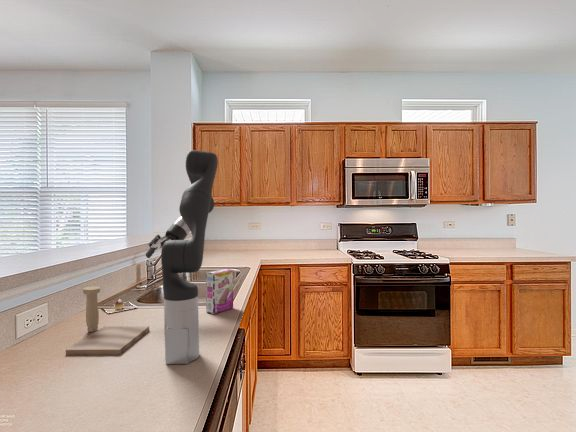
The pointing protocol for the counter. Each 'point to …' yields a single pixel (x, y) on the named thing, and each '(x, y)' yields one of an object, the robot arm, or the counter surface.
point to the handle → (92, 308)
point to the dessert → (120, 306)
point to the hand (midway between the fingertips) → (155, 259)
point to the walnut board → (108, 341)
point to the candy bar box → (219, 291)
